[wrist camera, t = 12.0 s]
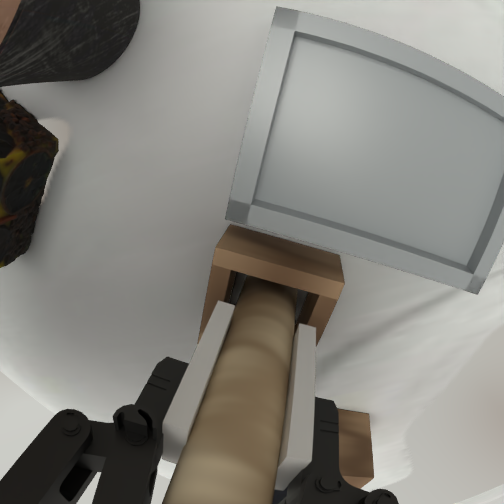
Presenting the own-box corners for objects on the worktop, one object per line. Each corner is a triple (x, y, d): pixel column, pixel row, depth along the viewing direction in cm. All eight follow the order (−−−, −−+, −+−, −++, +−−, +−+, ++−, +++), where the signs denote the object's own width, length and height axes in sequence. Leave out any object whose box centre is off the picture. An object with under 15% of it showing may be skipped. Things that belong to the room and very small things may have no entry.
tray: (234, 206, 16) (225, 219, 15) (280, 19, 12) (276, 6, 10) (464, 277, 16) (477, 294, 14) (521, 120, 11) (541, 123, 10)
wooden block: (299, 454, 25) (294, 508, 20) (334, 408, 22) (334, 474, 16) (329, 458, 25) (326, 511, 20) (368, 413, 22) (374, 477, 16)
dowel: (240, 300, 19) (154, 536, 6) (251, 256, 18) (150, 518, 5) (289, 314, 19) (249, 560, 6) (304, 271, 17) (277, 549, 5)
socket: (211, 313, 20) (197, 343, 17) (230, 224, 17) (215, 247, 14) (304, 339, 19) (302, 373, 17) (339, 255, 17) (344, 283, 14)
